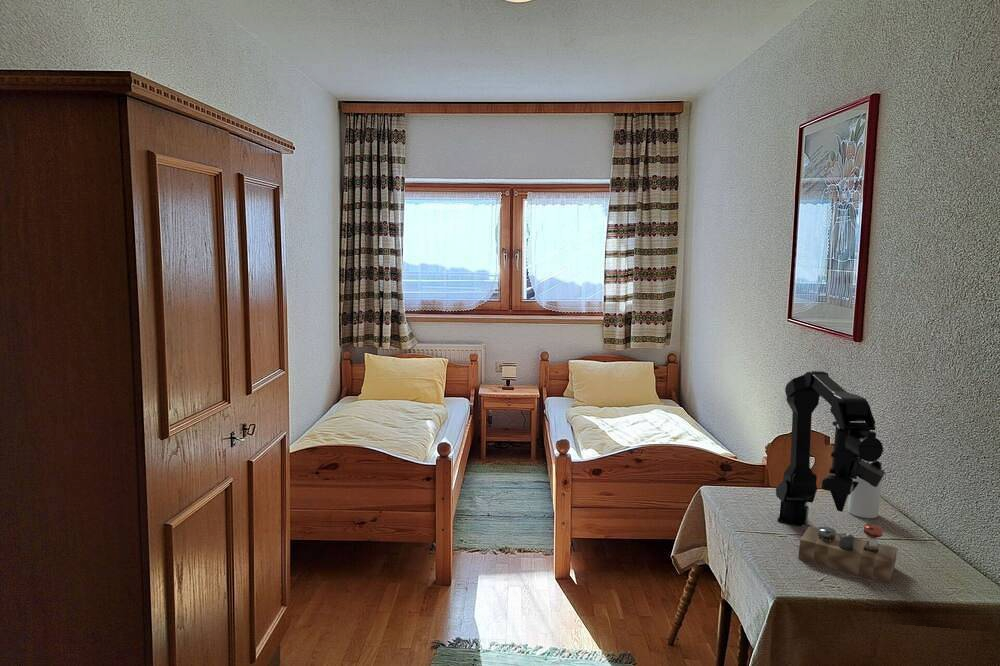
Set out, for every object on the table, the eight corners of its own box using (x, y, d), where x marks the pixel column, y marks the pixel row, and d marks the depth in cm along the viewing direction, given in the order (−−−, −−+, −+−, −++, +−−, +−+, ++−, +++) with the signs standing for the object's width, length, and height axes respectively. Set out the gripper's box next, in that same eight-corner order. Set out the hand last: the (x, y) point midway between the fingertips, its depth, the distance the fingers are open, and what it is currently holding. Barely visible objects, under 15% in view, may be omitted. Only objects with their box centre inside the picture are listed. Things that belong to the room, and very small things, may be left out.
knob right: (859, 555, 175) (863, 527, 174) (862, 550, 179) (865, 522, 178) (878, 560, 173) (881, 532, 172) (880, 554, 176) (884, 526, 175)
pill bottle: (868, 508, 216) (874, 459, 213) (883, 519, 208) (889, 468, 205) (842, 508, 215) (847, 458, 213) (856, 519, 207) (862, 467, 205)
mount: (798, 558, 181) (800, 539, 180) (807, 544, 189) (809, 526, 188) (889, 583, 170) (891, 563, 169) (894, 567, 178) (897, 548, 177)
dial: (838, 548, 176) (839, 535, 175) (840, 544, 178) (841, 531, 178) (851, 551, 174) (853, 538, 174) (853, 547, 176) (855, 534, 176)
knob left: (813, 557, 182) (816, 530, 180) (817, 552, 185) (820, 525, 184) (831, 562, 179) (834, 534, 178) (834, 556, 183) (837, 529, 182)
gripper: (877, 465, 164) (869, 531, 166) (890, 446, 179) (882, 508, 182) (824, 454, 171) (817, 519, 173) (840, 438, 186) (834, 497, 188)
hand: (840, 510), depth 179 cm, fingers closed
